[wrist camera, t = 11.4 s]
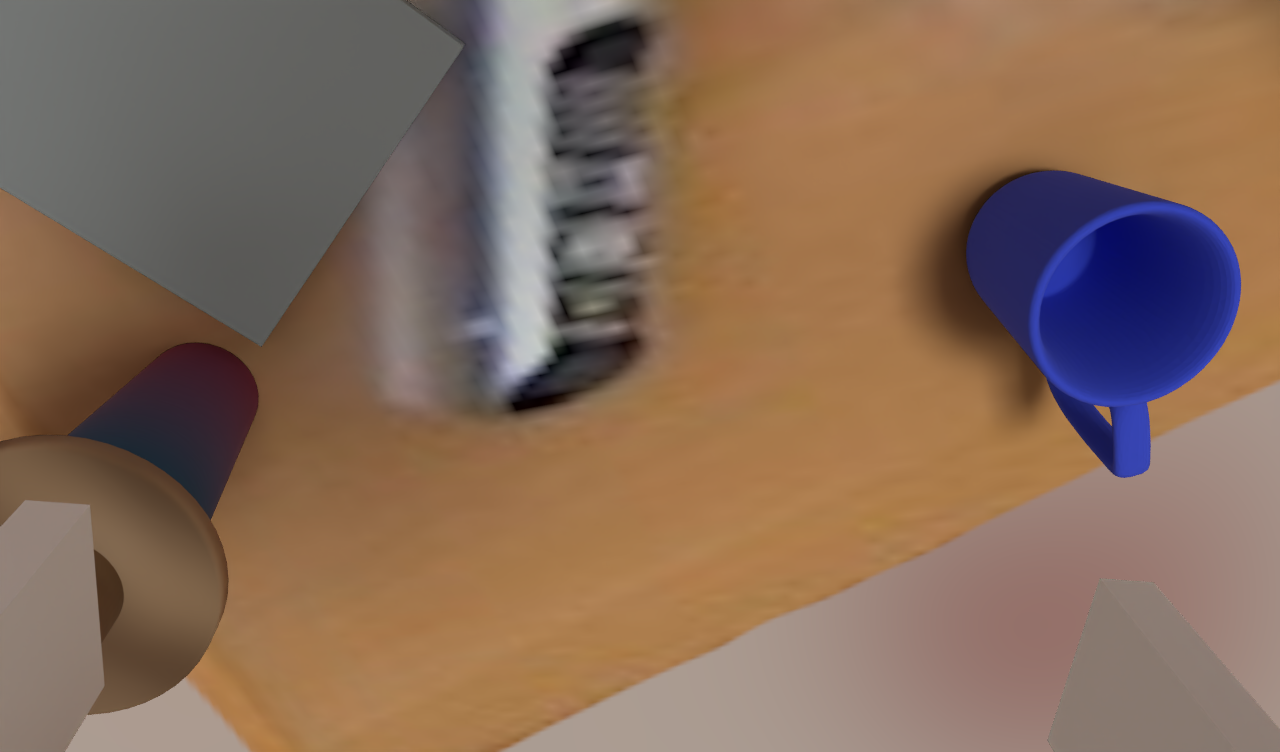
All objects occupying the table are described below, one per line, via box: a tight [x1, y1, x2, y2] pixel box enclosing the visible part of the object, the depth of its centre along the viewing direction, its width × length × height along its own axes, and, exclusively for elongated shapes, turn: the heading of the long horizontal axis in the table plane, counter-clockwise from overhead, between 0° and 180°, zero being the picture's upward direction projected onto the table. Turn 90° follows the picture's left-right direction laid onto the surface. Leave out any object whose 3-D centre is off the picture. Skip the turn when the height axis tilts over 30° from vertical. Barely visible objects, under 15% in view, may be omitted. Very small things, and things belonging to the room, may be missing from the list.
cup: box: [67, 343, 259, 520], centre depth 44 cm, size 7×7×15 cm
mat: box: [0, 0, 465, 347], centre depth 45 cm, size 16×16×1 cm
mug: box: [966, 171, 1241, 478], centre depth 47 cm, size 8×12×10 cm
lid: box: [0, 435, 228, 715], centre depth 33 cm, size 10×10×9 cm
